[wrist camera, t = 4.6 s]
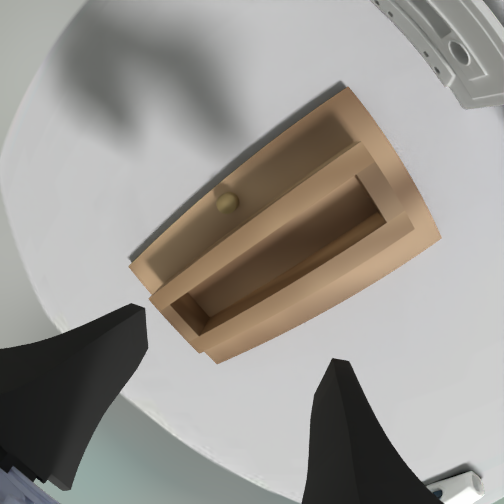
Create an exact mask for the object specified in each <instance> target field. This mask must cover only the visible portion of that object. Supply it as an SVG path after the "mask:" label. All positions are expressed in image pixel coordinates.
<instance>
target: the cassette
mask: <svg viewBox="0 0 504 504" xmlns="http://www.w3.org/2000/svg"><path fill="white" fill-rule="evenodd" d="M370 1H371V2H373V3H374V4H375V5H376V6H377V7H378V8H379V9H380V10H381V11H382V12H383V13H384V14H385V15H386V16H387V17H388V18H389V19H390V20H391V21H392V22H393V23H394V24H395V25H396V26H397V27H398V28H399V30H400V31H401V32H402V33H403V34H404V35H405V36H406V37H407V38H408V40H409V41H410V42H411V43H412V44H413V45H414V47H415V48H416V49H417V50H418V52H419V53H420V54H421V55H422V57H423V58H424V59H425V60H426V62H427V63H428V64H429V66H430V67H431V68H432V70H433V71H434V72H435V74H436V75H437V76H438V78H439V79H440V81H441V82H442V84H443V85H444V87H445V88H446V87H449V88H450V89H451V90H452V92H453V93H454V95H455V96H456V98H457V100H458V101H459V103H460V105H461V106H462V107H463V108H464V109H465V110H468V109H475V108H483V107H492V106H501V105H504V27H503V26H502V24H501V23H500V22H499V20H498V19H497V18H496V16H495V15H494V14H493V13H492V11H491V10H490V9H489V7H488V6H487V5H486V4H485V3H484V1H483V0H370Z"/></svg>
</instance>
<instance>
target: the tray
mask: <svg viewBox="0 0 504 504" xmlns="http://www.w3.org/2000/svg"><path fill="white" fill-rule="evenodd" d="M441 238H442V237H441V235H440V233H439V231H438V228H437V226H436V224H435V222H434V220H433V218H432V216H431V214H430V212H429V210H428V208H427V206H426V204H425V202H424V200H423V198H422V196H421V194H420V192H419V191H418V189H417V187H416V185H415V183H414V182H413V180H412V178H411V176H410V175H409V173H408V171H407V169H406V168H405V166H404V164H403V163H402V161H401V159H400V158H399V156H398V155H397V153H396V152H395V150H394V148H393V147H392V145H391V144H390V142H389V141H388V139H387V138H386V136H385V135H384V133H383V132H382V130H381V129H380V128H379V126H378V125H377V123H376V122H375V120H374V119H373V118H372V116H371V115H370V114H369V112H368V111H367V110H366V108H365V107H364V106H363V104H362V103H361V102H360V100H359V99H358V98H357V97H356V95H355V94H354V93H353V92H352V90H351V89H350V88H349V87H347V88H345V89H344V90H342V91H341V92H339V93H338V94H336V95H335V96H333V97H332V98H330V99H329V100H327V101H326V102H324V103H323V104H322V105H320V106H319V107H317V108H316V109H314V110H313V111H312V112H310V113H309V114H307V115H306V116H305V117H303V118H302V119H300V120H299V121H298V122H296V123H295V124H294V125H292V126H291V127H290V128H288V129H287V130H286V131H284V132H283V133H282V134H280V135H279V136H278V137H276V138H275V139H274V140H272V141H271V142H270V143H268V144H267V145H266V146H265V147H263V148H262V149H261V150H259V151H258V152H257V153H256V154H254V155H253V156H252V157H251V158H249V159H248V160H247V161H246V162H244V163H243V164H242V165H241V166H239V167H238V168H237V169H236V170H234V171H233V172H232V173H231V174H230V175H228V176H227V177H226V178H225V179H224V180H222V181H221V182H220V183H219V184H218V185H217V186H215V187H214V188H213V189H212V190H211V191H209V192H208V193H207V194H206V195H205V196H204V197H203V198H201V199H200V200H199V201H198V202H197V203H196V204H195V205H193V206H192V207H191V208H190V209H189V210H188V211H187V212H186V213H184V214H183V215H182V216H181V217H180V218H179V219H178V220H177V221H176V222H174V223H173V224H172V225H171V226H170V227H169V228H168V229H167V230H166V231H165V232H164V233H163V234H161V235H160V236H159V237H158V238H157V239H156V240H155V241H154V242H153V243H152V244H151V245H150V246H149V247H148V248H147V249H146V250H145V251H144V252H143V253H142V254H141V255H140V256H139V257H137V258H136V259H135V260H134V261H133V262H132V263H131V264H130V265H129V266H128V267H129V268H130V269H131V270H132V272H133V273H134V274H135V275H136V277H137V278H138V279H139V280H140V281H141V283H142V284H143V285H144V286H145V287H146V289H147V290H148V291H149V292H150V293H151V294H152V296H151V297H150V298H149V300H150V301H151V302H152V304H153V305H154V306H155V307H156V308H157V309H158V310H159V312H160V313H161V314H162V315H163V316H164V317H165V318H166V319H167V320H168V322H169V323H170V324H171V325H172V326H173V327H174V328H175V329H176V330H177V331H178V332H179V333H180V334H181V335H182V336H183V338H184V339H185V340H186V341H187V342H188V343H189V344H190V345H191V346H192V347H193V348H194V349H195V350H196V351H197V352H198V353H202V352H205V353H206V354H207V355H208V356H209V357H210V358H211V359H212V360H213V361H214V362H215V363H216V364H219V363H221V362H223V361H226V360H228V359H230V358H232V357H235V356H237V355H239V354H241V353H243V352H246V351H248V350H250V349H252V348H254V347H256V346H258V345H261V344H263V343H265V342H267V341H269V340H271V339H273V338H275V337H277V336H279V335H281V334H283V333H285V332H287V331H289V330H291V329H293V328H295V327H297V326H299V325H301V324H302V323H304V322H306V321H308V320H310V319H312V318H314V317H316V316H318V315H319V314H321V313H323V312H325V311H327V310H328V309H330V308H332V307H334V306H336V305H337V304H339V303H341V302H343V301H344V300H346V299H348V298H350V297H351V296H353V295H355V294H356V293H358V292H360V291H362V290H363V289H365V288H367V287H368V286H370V285H371V284H373V283H375V282H376V281H378V280H380V279H381V278H383V277H384V276H386V275H388V274H389V273H391V272H392V271H394V270H395V269H397V268H399V267H400V266H402V265H403V264H405V263H406V262H408V261H409V260H411V259H412V258H414V257H415V256H417V255H418V254H420V253H421V252H423V251H424V250H426V249H427V248H428V247H430V246H431V245H433V244H434V243H436V242H437V241H438V240H440V239H441Z"/></svg>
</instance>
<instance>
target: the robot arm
mask: <svg viewBox="0 0 504 504" xmlns="http://www.w3.org/2000/svg"><path fill="white" fill-rule="evenodd" d="M147 349H148V340H147V328H146V314H145V308H143V307H141V306H138V305H135V304H132V303H131V304H129V305H126V306H124V307H122V308H119V309H117V310H115V311H113V312H111V313H109V314H106V315H104V316H102V317H100V318H98V319H96V320H93V321H91V322H89V323H87V324H85V325H82V326H80V327H77V328H75V329H73V330H70V331H68V332H65V333H63V334H60V335H57V336H55V337H52V338H48V339H45V340H42V341H39V342H35V343H31V344H26V345H21V346H16V347H11V348H4V349H0V504H34V503H35V504H60V503H59V502H57V501H56V500H55V499H53V498H52V497H51V496H49V495H48V494H47V493H45V492H44V491H43V490H42V489H40V488H39V487H38V486H37V485H35V484H34V483H33V482H34V480H35V479H36V478H37V479H38V480H40V481H41V482H42V483H45V482H46V481H47V480H49V481H50V482H52V483H53V484H54V485H55V486H57V487H58V488H59V489H61V490H63V491H67V490H71V487H72V483H73V481H74V477H75V475H76V472H77V469H78V466H79V464H80V461H81V459H82V456H83V454H84V452H85V449H86V447H87V445H88V443H89V441H90V439H91V437H92V435H93V433H94V431H95V429H96V427H97V425H98V424H99V422H100V420H101V418H102V416H103V415H104V413H105V412H106V410H107V409H108V407H109V406H110V405H111V403H112V402H113V401H114V399H115V398H116V396H117V395H118V394H119V392H120V391H121V390H122V388H123V387H124V386H125V384H126V383H127V382H128V380H129V379H130V378H131V376H132V375H133V374H134V372H135V371H136V369H137V368H138V366H139V364H140V363H141V361H142V359H143V357H144V355H145V353H146V351H147ZM302 504H444V503H443V502H442V501H441V500H439V499H438V498H437V497H436V496H435V495H434V494H433V493H432V492H431V491H430V490H429V489H428V488H427V487H426V486H425V485H424V484H423V483H422V482H421V481H420V480H419V479H418V477H417V476H416V475H415V474H414V473H413V472H412V470H411V469H410V468H409V467H408V466H407V464H406V463H405V462H404V461H403V459H402V458H401V457H400V455H399V454H398V452H397V451H396V449H395V448H394V447H393V445H392V444H391V442H390V441H389V439H388V437H387V436H386V434H385V432H384V431H383V429H382V427H381V425H380V424H379V422H378V420H377V418H376V416H375V414H374V412H373V410H372V408H371V406H370V404H369V403H368V401H367V399H366V396H365V394H364V392H363V390H362V388H361V386H360V384H359V382H358V379H357V377H356V375H355V373H354V371H353V368H352V366H351V364H350V362H349V361H346V360H340V359H334V358H332V360H331V362H330V364H329V366H328V368H327V370H326V372H325V374H324V376H323V378H322V380H321V382H320V384H319V386H318V388H317V390H316V392H315V394H314V400H313V406H312V412H311V419H310V439H309V458H308V472H307V480H306V485H305V490H304V495H303V499H302Z"/></svg>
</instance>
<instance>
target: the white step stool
mask: <svg viewBox="0 0 504 504" xmlns="http://www.w3.org/2000/svg"><path fill="white" fill-rule="evenodd" d="M426 487H427V488H428V489H429V490H430V491H431V492H432V493H433V492H435V491H438V490H442V493H443V495H442V496H441V497H439V498H438V499H439V500H441V501H442V502H443V503H444V504H472V503H473V502H475V501H477V500H478V499H480V498H481V497H482V496H483V495H484V494H485V492H484V486H483V483H482V481H481V479H480V477H479V476H477V475H476V474H475V473H474V472H473V471H469V472H466V473H463V474H460V475H457V476H454V477H451V478H448V479H445V480H441V481H438V482H434V483H432V484H429V485H427V486H426Z"/></svg>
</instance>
